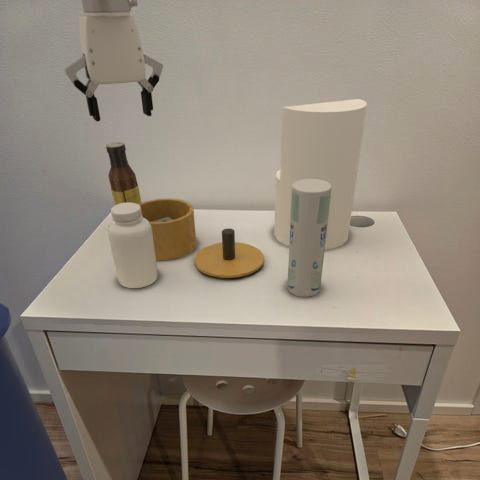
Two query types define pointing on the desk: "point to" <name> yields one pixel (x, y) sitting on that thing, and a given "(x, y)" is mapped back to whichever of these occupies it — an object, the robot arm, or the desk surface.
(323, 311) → the desk surface
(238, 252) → the tan wooden disc
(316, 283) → the spray can
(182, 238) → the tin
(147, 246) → the pill bottle
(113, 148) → the sauce bottle
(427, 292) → the desk surface
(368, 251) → the desk surface
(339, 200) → the cylinder
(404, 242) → the desk surface
